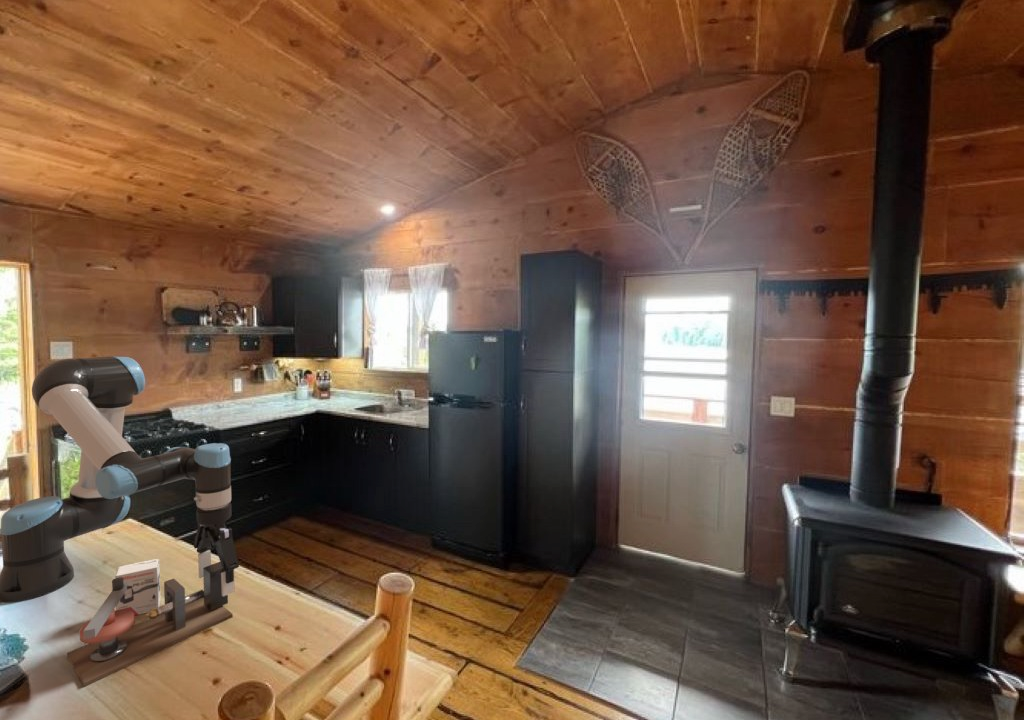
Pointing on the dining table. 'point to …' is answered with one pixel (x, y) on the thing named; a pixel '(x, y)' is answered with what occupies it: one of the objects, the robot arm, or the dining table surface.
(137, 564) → the ink box
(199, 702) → the dining table surface
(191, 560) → the dining table surface
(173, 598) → the eye
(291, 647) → the dining table surface
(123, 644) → the axle post
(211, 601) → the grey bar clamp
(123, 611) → the handwheel
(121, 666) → the board
